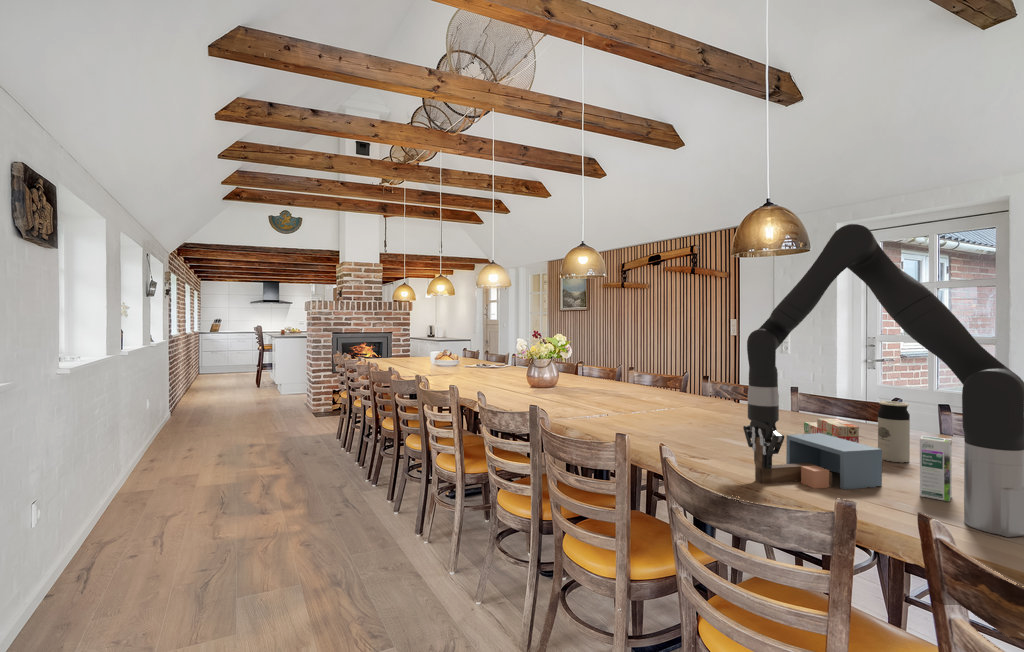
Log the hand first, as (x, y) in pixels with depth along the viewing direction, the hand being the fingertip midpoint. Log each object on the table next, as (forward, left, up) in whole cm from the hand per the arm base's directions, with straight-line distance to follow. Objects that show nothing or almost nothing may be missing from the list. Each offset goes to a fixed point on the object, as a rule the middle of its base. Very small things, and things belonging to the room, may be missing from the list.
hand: (762, 466), depth 135 cm
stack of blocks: (+18, -39, -5) cm, 44 cm away
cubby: (0, -22, -4) cm, 22 cm away
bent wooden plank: (-3, -7, -4) cm, 9 cm away
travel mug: (+11, -56, -4) cm, 57 cm away
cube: (-5, -12, -4) cm, 14 cm away
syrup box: (-19, -34, -4) cm, 39 cm away
